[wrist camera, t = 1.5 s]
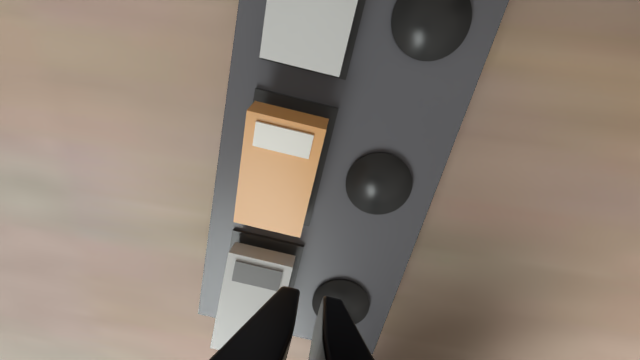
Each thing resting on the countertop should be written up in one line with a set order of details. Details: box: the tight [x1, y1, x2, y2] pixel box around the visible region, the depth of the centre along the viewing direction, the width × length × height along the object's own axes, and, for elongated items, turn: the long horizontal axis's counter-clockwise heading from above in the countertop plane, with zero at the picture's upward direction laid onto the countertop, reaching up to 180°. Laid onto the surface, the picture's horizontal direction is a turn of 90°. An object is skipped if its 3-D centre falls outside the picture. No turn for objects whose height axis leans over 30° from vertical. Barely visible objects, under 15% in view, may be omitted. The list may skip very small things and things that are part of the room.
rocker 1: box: [210, 242, 295, 350], centre depth 17 cm, size 5×3×1 cm, turn 167°
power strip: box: [198, 0, 509, 354], centre depth 18 cm, size 20×10×3 cm, turn 167°
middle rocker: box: [233, 101, 329, 238], centre depth 15 cm, size 5×3×1 cm, turn 167°
